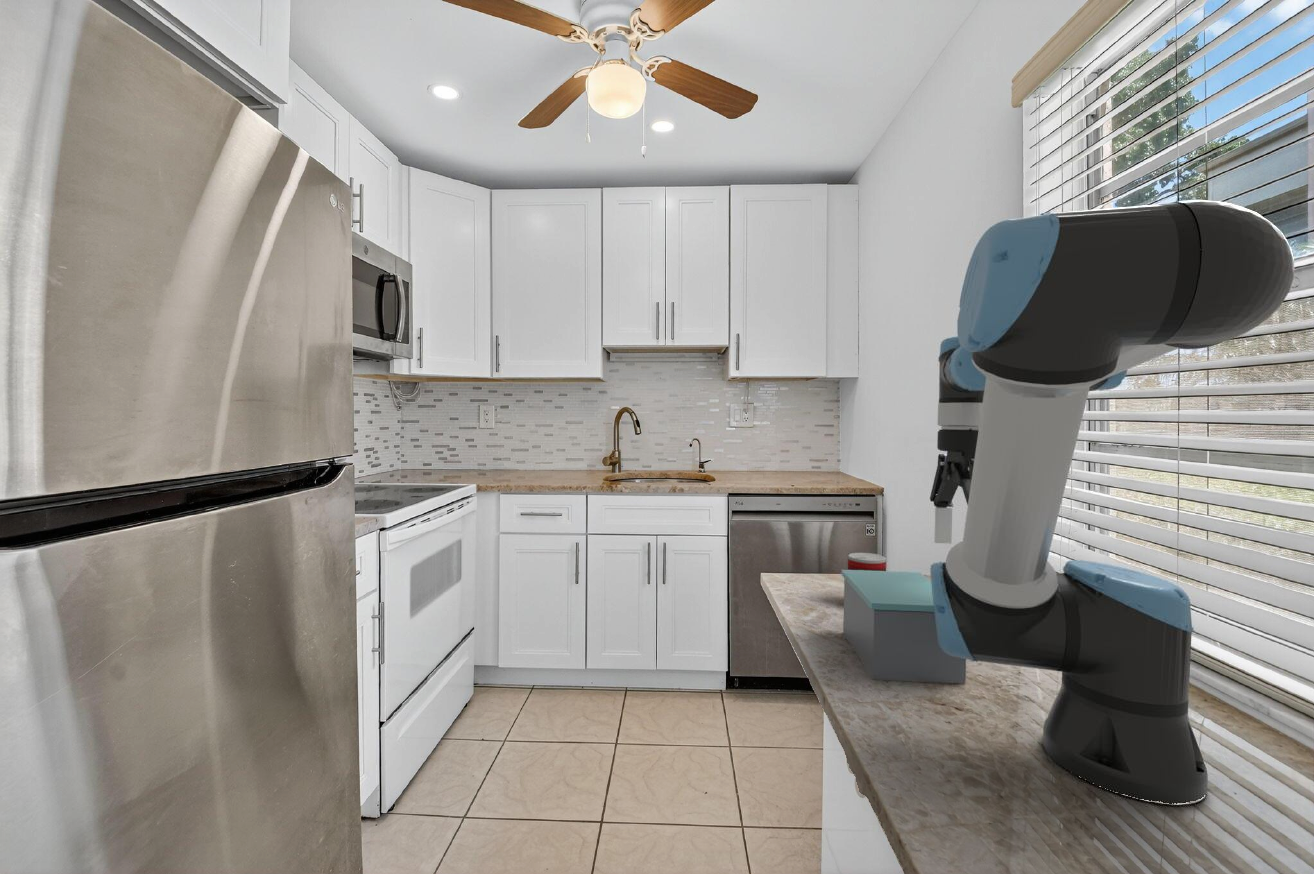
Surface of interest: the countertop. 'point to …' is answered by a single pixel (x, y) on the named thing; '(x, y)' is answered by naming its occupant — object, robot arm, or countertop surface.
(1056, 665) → the robot arm
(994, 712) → the countertop surface
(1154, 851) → the countertop surface
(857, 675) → the countertop surface
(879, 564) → the canned food
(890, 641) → the tub
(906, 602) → the lid
